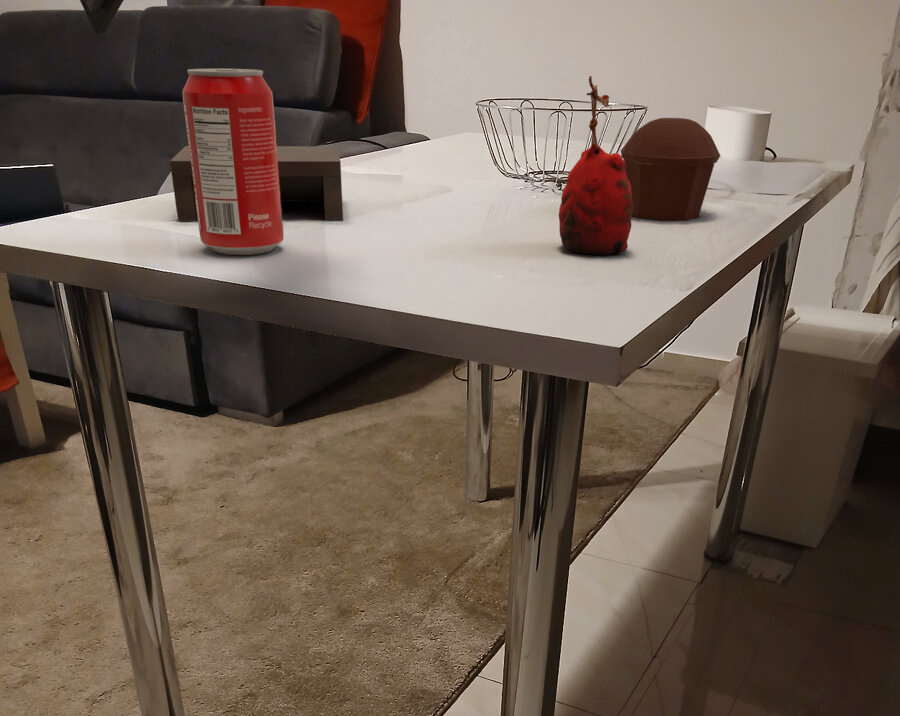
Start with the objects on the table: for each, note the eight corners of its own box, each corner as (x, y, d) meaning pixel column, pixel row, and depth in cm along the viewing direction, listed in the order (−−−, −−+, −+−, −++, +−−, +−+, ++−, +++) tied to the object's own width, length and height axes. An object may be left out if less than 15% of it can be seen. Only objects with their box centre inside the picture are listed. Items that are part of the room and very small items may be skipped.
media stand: (177, 221, 98) (169, 160, 95) (192, 200, 110) (185, 145, 107) (343, 220, 100) (340, 161, 97) (339, 199, 112) (337, 146, 109)
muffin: (692, 226, 101) (707, 125, 95) (600, 216, 105) (609, 119, 100) (721, 211, 109) (736, 118, 104) (634, 202, 114) (645, 113, 109)
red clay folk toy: (644, 253, 88) (666, 76, 80) (594, 261, 85) (612, 78, 77) (588, 239, 93) (604, 72, 85) (539, 247, 90) (550, 73, 82)
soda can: (204, 259, 83) (181, 70, 74) (199, 242, 89) (177, 66, 81) (290, 256, 84) (276, 71, 76) (278, 239, 91) (265, 67, 83)
